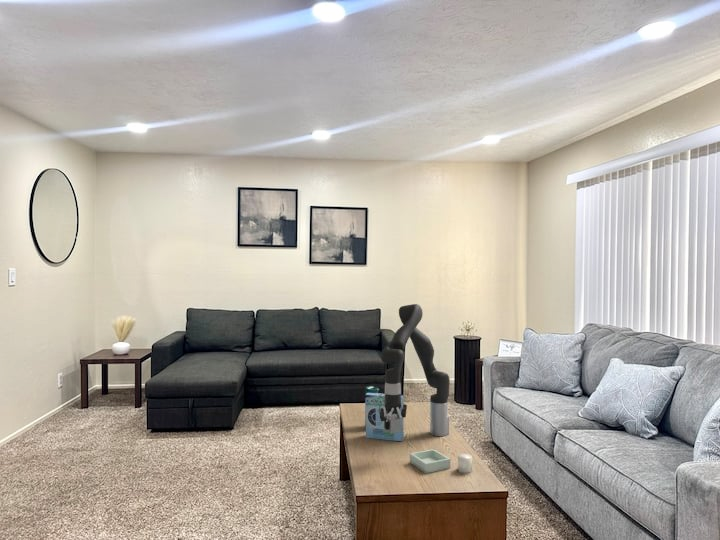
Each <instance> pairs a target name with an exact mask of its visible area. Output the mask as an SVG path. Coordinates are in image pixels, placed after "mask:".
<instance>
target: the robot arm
mask: <svg viewBox="0 0 720 540" xmlns="http://www.w3.org/2000/svg"><path fill="white" fill-rule="evenodd" d="M398 316H399V319H400V321H401V324H402V325H401V327H399V328H398V329H397V330H396V331H395V333H394V335H393V337H392V339H391V341H390V342H389V343H388V344H387V345H386V346H385V347H384V348H383V349H382V351H381V355H380V359H381V362H382V363H383V364H386V365H394V367H393V368H388V369H386V370H385V372H384V374H385V375H384V377H385V378H384V381H385V382H384V394H385V406H384V407H379V414H380V419H381V420H382V421H384V428H385V429H386V430H389V422H388V420H389V418H390V417H391V415H393V414H396V415H397V416H398V417H399V418H403V419H405V418H406V415H407V407H408V405H407V404H405V403H404V402H403V404H401V395H402V386H401V385H402V383H401V372H402V366H403V363H404V360H405V354H404V349H405V348H406V345H407V343H408V341H409V339H410V340H411V343H412V345H413V347H414V351H415V352H416V355H417V357H418V359H419V362H420V365H421V366H422V369H423V372H424V375H425V378H426V382H427V384H428V385H429V386H430V387H431V388H433V389H436V393H434V394H431V395H430V397H429V398H430V399H429V400H430V401H429V402H430V403H429V407H430V408H429V419H430V420H429V422H430V423H429V433H430V435H432V436H436V437H445V436H447V435H449V434H450V416H449V415H448V407H449V405H448V400H449V397H450V385H451V384H450V383H451V380H450V376H449V374H448V373H446V372H444V371H438V370H437V368H436V367H435V364H434V356H435V349H434V346H433V344H432V342H431V339H430V338H429V337H428V336H427V335H426V334H425V333H423V332H422V331H421V330H420V329H418V328H417V326H418V325H419V323H420V322H421V320H422V319H423V309H422V307H421V305H420V304H418V303H416V304H415V303H414V304H407V305H406V304H405V305H402V306H400V307H399V309H398ZM400 408H402V410H401V412H400ZM385 410H386V412H385ZM384 412H385V416H384ZM388 413H389V414H388Z"/></svg>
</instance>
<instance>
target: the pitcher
mask: <svg viewBox="0 0 720 540" xmlns="http://www.w3.org/2000/svg"><path fill="white" fill-rule="evenodd" d="M379 391H380V389H379V388H378V387H375V386H374V385H370V386H365V395H366V394H367V393H368V392H370V393H379ZM364 400H365V401H364V403H365V409H364V414H365V416H364V420H365V421H364V426H365V428H366V398H364Z"/></svg>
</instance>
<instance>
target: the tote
mask: <svg viewBox="0 0 720 540" xmlns="http://www.w3.org/2000/svg"><path fill="white" fill-rule="evenodd" d="M409 463H410V464H412V465H413V466H414V467H415V468H417V469H419V470H421V471H422V472H423V473H425V474H429V473H433V472H437V471H443V470H447V469H451V458H449V457H448V456H446V455H444V454H443V453H441V452H439V451H438V450H436V449H433V448H432V449H428V450H421V451H416V452H411V453H409Z"/></svg>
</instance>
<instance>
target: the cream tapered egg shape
mask: <svg viewBox="0 0 720 540" xmlns="http://www.w3.org/2000/svg"><path fill="white" fill-rule="evenodd" d="M457 470H458V472H460V473H463V474H470V473H472V472H473V456H472V455H470V454H468V453H460V454H458V455H457Z"/></svg>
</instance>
